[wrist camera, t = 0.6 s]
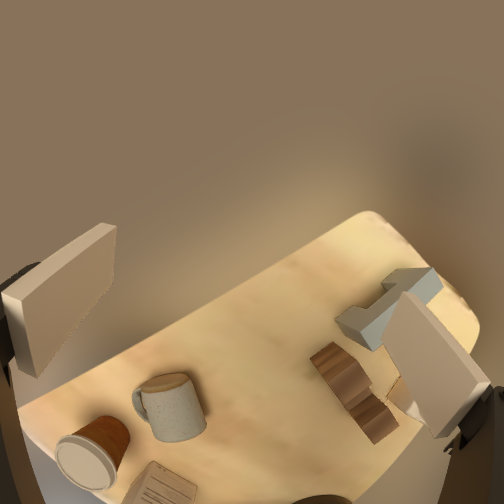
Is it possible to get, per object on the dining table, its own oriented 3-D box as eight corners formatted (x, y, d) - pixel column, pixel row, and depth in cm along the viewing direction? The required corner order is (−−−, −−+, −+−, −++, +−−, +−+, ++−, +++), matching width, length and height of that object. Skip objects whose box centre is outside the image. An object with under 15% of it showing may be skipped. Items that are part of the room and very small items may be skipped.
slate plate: (406, 285, 42) (443, 287, 32) (345, 335, 41) (372, 351, 31) (396, 269, 42) (433, 267, 32) (334, 319, 41) (359, 331, 31)
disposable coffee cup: (133, 463, 39) (109, 504, 27) (84, 439, 39) (51, 472, 27) (144, 422, 40) (118, 462, 28) (91, 396, 40) (53, 426, 28)
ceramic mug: (193, 366, 41) (182, 384, 33) (210, 416, 40) (203, 441, 32) (127, 378, 40) (106, 395, 33) (146, 425, 40) (129, 448, 32)
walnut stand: (371, 398, 41) (399, 425, 31) (350, 414, 40) (374, 444, 30) (332, 341, 41) (356, 359, 31) (309, 358, 41) (327, 381, 31)
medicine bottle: (412, 412, 41) (450, 442, 29) (385, 397, 41) (422, 428, 29) (436, 376, 41) (479, 398, 29) (410, 359, 41) (454, 380, 29)
